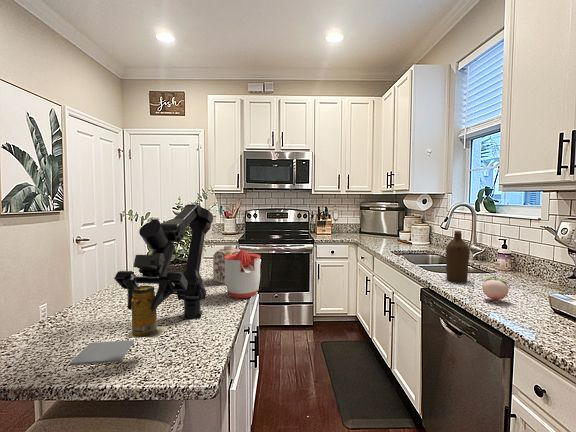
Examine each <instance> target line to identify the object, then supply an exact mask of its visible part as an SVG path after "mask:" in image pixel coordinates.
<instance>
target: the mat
mask: <svg viewBox="0 0 576 432" xmlns="http://www.w3.org/2000/svg"><path fill="white" fill-rule="evenodd" d="M134 343H135V340H134V339H131V340H130V339H129V340H116V341H115V340H114V341H100V342H99V341H98V342H90V343H89V344H87V346H85V347H84V348H83V349H82V350H81V351H80V353H78V354H77V355H76V356H75V357H74V358H73V359H72V360H71V361H70V362H69V366H73V365H76V366H77V365H88V364H100V363H101V364H102V363H115V362H118V363H119V362H121V361H122V360H123V358H124V357H125V356H126V354H127V353H128V352H129V350H130V348H132V346H133V344H134Z"/></svg>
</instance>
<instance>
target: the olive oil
mask: <svg viewBox="0 0 576 432" xmlns="http://www.w3.org/2000/svg"><path fill="white" fill-rule="evenodd" d="M462 236H463V235H462V231H461V230H454V233H453V239H451V241H450V242H448V243H447V245H446V247H445V265H446V267H445V270H446V280H448V281H450V282H454V283H466V282H467V281H468V274H469V271H468V270H469V262H470V261H469V260H470V248H469V245H468V244H467V243H466V242H465V241H464V240H463V239H462Z"/></svg>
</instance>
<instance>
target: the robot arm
mask: <svg viewBox="0 0 576 432" xmlns="http://www.w3.org/2000/svg"><path fill="white" fill-rule="evenodd" d="M213 222H214V216H213V214H212V212H211V211H210V209H209V210H208V209H207V208H204V207H203V206H201V205H200V204H198V203H197V204H196V203H191V204H190V203H188V204H186V205H184V207H183V208H182V210H180V212H179V213H177V214H176V215H175V217H173V218H172V219H170V220H166V221H163V222H161V221H160V219H159V218H158V219H157V218H151V220H150V221H149V222H147V223H144V225H142V226H141V227H140V228H139V230H138V233H139V235H140V237H141V238H142V240H143V242H144V244H146V246H147V247H148V248H149V249H150V250H152V251H151V253H150V254H135V255H134V261H133V268H136V269H137V268H138V272H139V273H140V274H142V275H136V274H135V273H134V272H133V271H132V270H119V271H117V272H116V273H115V275H114V278H113V279H114V280H115V281H116V282H117V284H118V285H119V286H120V287H121V289H123V290H124V289H125V290H127V309H128V310H129V311H130V310H131V311H132V309H131V305H132V304H131V300H132V298H133V289H134V288H135V287H138V286H140V284H146V285H147V284H149V285H150V284H151V285H152V284H154V285H158V289H157V290H156V293H155V298H154V301H153V304H152V307H151V309H152V310H153V311H154V310H155V309H156V310H157V308H158V307H159V306H160V305H161V304H162V303H163V302H165V300H166V299H168V297H170V296H171V295H172V294H176V295H177V300H178V301H181V300H183V313H182V316H181V319H182V320H184V319H185V320H186V319H200V318H202V315H203V311H204V310H202V309H201V307H202V306H201V301H203V300H206V298H207V297H206V295H207V290H206V289H205V286H204V285H203V278H202V276H201V272H200V270H201V269H200V268H201V262H202V255H203V249H204V244H205V237H206V234H207V233H208V232H209V231H210V230H211V227H212V223H213ZM188 226H189V228H190V230H191V236H190V241H189V242H190V243H189V247H188V248H189V249H188V253H187V259H186V265H185V269H184V271H183V272H182V271H170V269H171V265H170V264H171V261H172V257H173V256H174V255H177V250H176V247H175V245H174V243H181V242H182V241H183V239H184V237H185V235H186V232H185V230H186V228H187V227H188Z"/></svg>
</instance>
